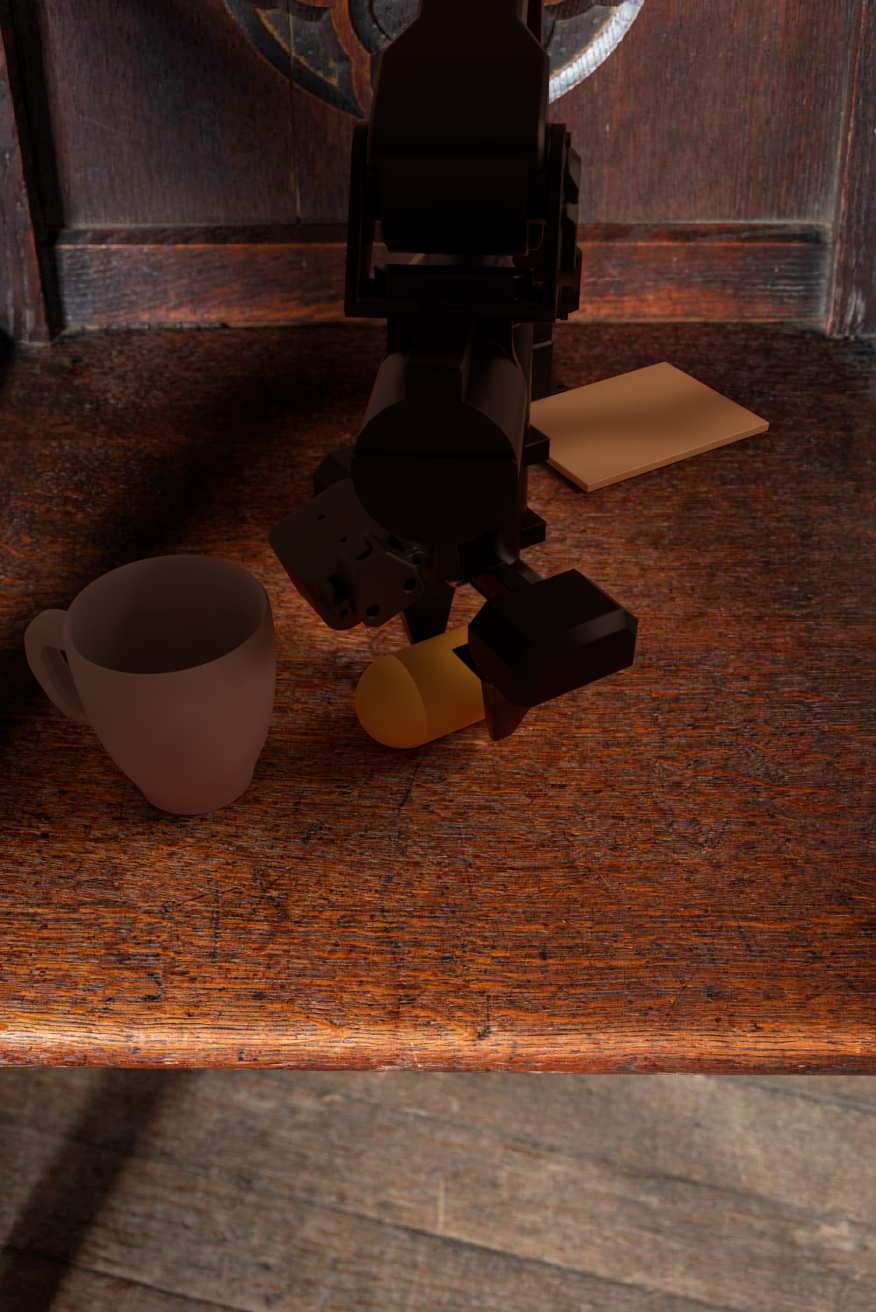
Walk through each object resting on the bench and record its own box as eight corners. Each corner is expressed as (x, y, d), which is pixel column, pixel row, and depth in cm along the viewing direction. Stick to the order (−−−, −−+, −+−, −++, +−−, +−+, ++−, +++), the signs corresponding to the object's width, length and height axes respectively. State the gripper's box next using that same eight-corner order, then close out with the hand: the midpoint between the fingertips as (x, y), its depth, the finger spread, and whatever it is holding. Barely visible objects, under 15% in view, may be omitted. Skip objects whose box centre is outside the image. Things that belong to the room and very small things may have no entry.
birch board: (491, 421, 86) (491, 413, 86) (664, 368, 92) (665, 361, 91) (586, 493, 78) (587, 484, 78) (768, 430, 84) (769, 422, 84)
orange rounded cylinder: (566, 636, 67) (571, 565, 64) (619, 683, 64) (626, 610, 61) (340, 725, 62) (334, 652, 59) (386, 781, 59) (382, 707, 56)
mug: (319, 732, 61) (303, 570, 55) (242, 862, 55) (214, 695, 49) (102, 686, 64) (64, 528, 58) (5, 804, 58) (-49, 639, 52)
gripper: (193, 372, 55) (235, 650, 65) (403, 581, 43) (415, 886, 52) (413, 315, 60) (421, 583, 69) (662, 489, 47) (628, 787, 57)
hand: (462, 696), depth 62 cm, fingers open, 7 cm apart
